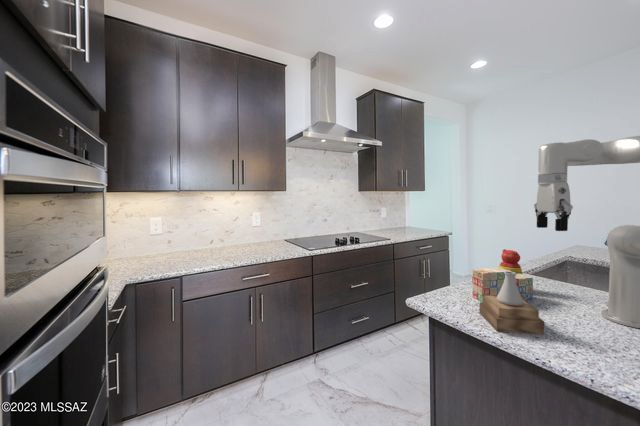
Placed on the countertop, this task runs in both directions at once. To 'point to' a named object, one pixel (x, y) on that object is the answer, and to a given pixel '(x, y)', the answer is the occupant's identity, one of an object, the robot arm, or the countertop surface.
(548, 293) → the countertop surface
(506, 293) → the flask
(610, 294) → the robot arm
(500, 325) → the stepped wooden pedestal
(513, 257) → the stacking bear
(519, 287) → the stack of blocks
